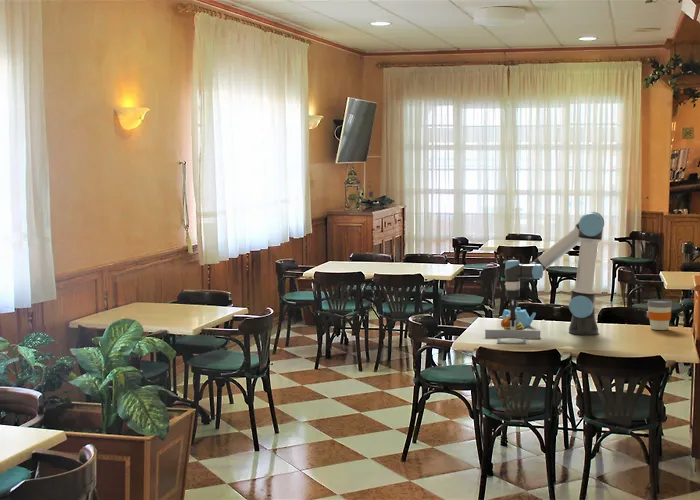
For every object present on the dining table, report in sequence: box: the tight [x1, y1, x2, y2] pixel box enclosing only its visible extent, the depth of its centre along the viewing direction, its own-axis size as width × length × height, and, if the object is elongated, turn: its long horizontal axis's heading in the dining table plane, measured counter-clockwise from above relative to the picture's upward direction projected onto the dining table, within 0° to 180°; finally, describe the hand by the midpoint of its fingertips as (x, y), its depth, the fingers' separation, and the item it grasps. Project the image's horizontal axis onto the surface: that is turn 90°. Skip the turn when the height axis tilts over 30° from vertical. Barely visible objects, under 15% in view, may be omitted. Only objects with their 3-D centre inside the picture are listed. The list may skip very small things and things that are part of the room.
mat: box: [496, 338, 527, 345], centre depth 418 cm, size 14×14×1 cm
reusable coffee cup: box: [646, 299, 673, 331], centre depth 448 cm, size 13×13×15 cm
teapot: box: [501, 306, 537, 328], centre depth 463 cm, size 15×15×11 cm
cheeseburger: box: [500, 315, 525, 330], centre depth 441 cm, size 10×11×10 cm
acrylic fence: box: [484, 328, 541, 339], centre depth 429 cm, size 28×1×4 cm, turn 79°
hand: (513, 330), depth 441 cm, fingers closed on cheeseburger, 10 cm apart
